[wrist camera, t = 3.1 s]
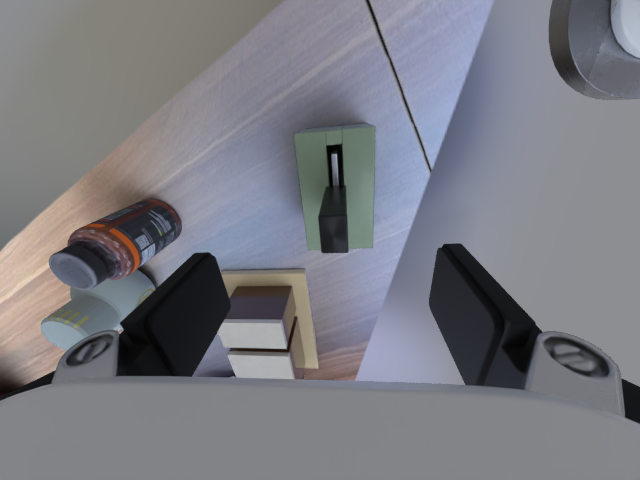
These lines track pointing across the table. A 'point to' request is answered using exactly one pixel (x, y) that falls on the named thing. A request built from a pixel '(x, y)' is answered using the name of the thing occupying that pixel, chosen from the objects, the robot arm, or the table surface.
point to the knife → (334, 212)
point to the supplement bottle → (116, 244)
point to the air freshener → (96, 309)
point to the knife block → (354, 173)
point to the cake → (269, 324)
